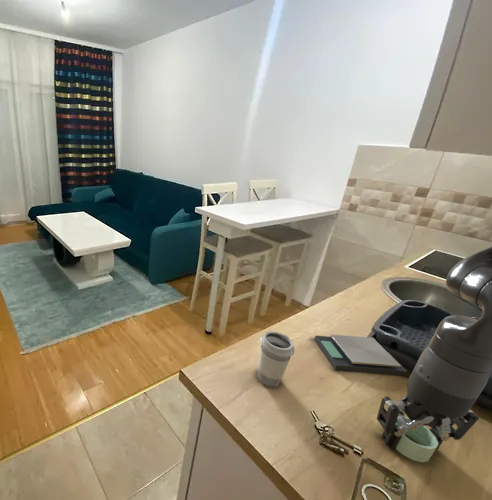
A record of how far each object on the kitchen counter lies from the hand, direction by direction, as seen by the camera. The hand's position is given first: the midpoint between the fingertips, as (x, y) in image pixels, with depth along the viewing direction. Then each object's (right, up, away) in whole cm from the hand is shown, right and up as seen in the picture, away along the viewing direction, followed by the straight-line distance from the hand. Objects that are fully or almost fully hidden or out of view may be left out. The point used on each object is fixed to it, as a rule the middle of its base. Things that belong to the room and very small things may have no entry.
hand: (407, 446), depth 53 cm
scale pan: (+7, +11, +20) cm, 24 cm away
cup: (-20, +5, +14) cm, 25 cm away
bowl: (0, -1, 0) cm, 1 cm away
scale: (+6, +8, +21) cm, 23 cm away
